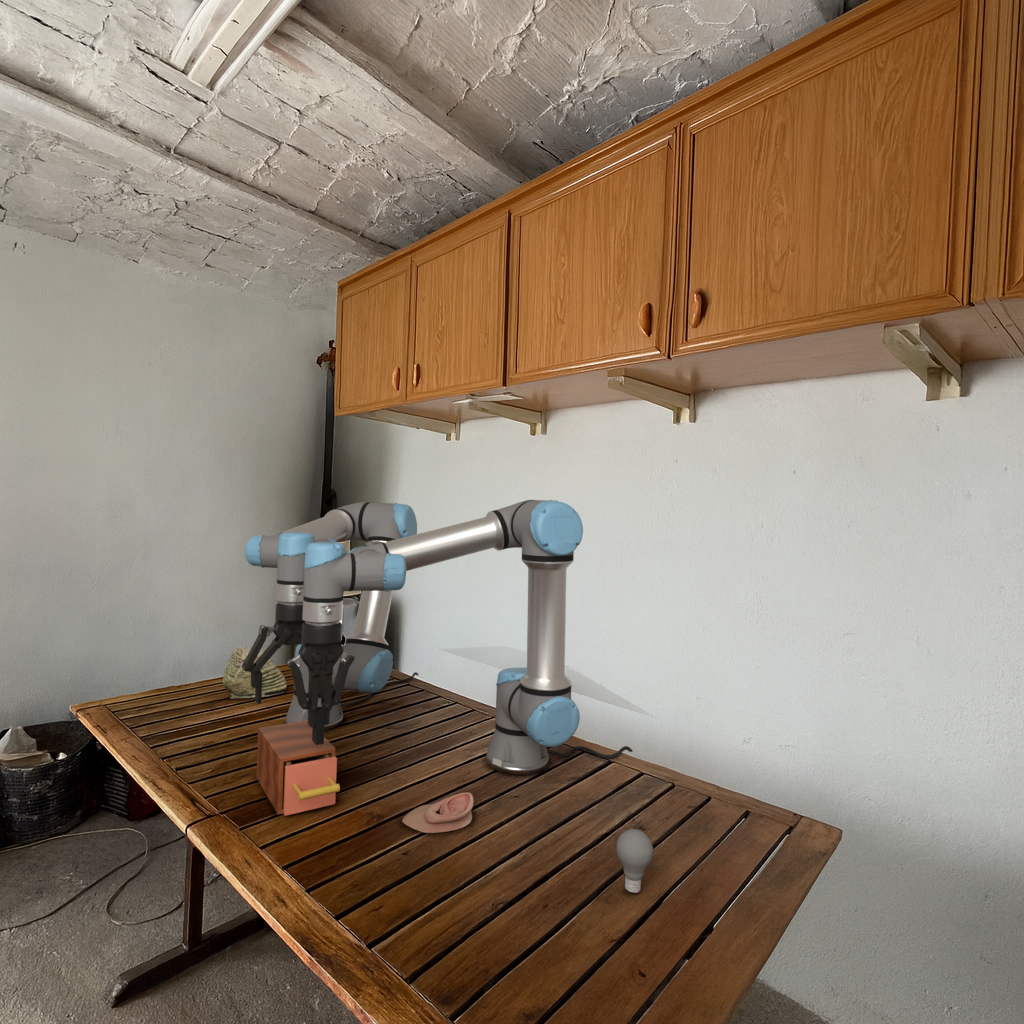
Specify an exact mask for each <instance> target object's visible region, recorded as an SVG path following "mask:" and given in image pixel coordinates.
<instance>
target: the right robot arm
mask: <svg viewBox="0 0 1024 1024" xmlns="http://www.w3.org/2000/svg"><path fill="white" fill-rule="evenodd" d="M583 535H584V526H583V521H582V519H581V516H580V514H579V513H578V512H577V511H576V509H575V508H574V507H572V506H571V505H570V504H568V503H566V502H563V501H559V500H554V499H548V500H547V499H545V500H543V499H538V500H537V499H527V500H523V501H519V502H516V503H514V504H510V505H507V506H505V507H501V508H498V509H493V510H490V511H488V512H487V513H486V515H485V516H484V517H480V518H477V519H472V520H469V521H465V522H460V523H456V524H452V525H449V526H444V527H439V528H436V529H432V530H427V531H423V532H420V533H417V534H416V535H412V536H408V537H404V538H400V539H396V540H392V541H388V542H384V543H381V544H376V545H372V546H367V545H365V546H364V545H360V546H356V547H354V548H352V549H351V550H349V552H347V550H346V545H345V544H343V542H338V543H330V542H315V543H311V544H309V545H308V546H307V547H306V553H305V564H304V592H303V615H302V620H303V621H305V623H303V625H302V644H301V648H300V650H299V652H298V655H297V656H296V657H295V656H294V657H292V658H288V659H287V660H286V662H285V664H286V665H287V667H288V668H289V670H290V671H291V675H292V681H293V686H294V685H295V690H296V694H297V699H298V704H299V705H300V707H301V708H302V709H304V710H305V709H307V710H308V725H309V726H310V727H313V728H312V741H313V742H314V743H315V744H316V745H320V744H324V737H325V731H324V726H325V725H328V724H329V718H330V710H331V709H332V706H334V705H338V704H339V703H340V704H341V700H342V695H343V692H344V690H343V688H344V685H345V681H346V677H347V674H348V670H349V667H350V665H351V664H352V662H353V661H354V656H352V655H351V654H349V653H346V652H344V649H343V646H344V645H343V644H342V641H343V623H342V622H341V621H342V620H343V614H344V613H343V612H344V592H362V591H386V592H388V591H391V590H393V591H400V590H402V589H403V588H404V587H405V584H406V579H407V572H409V571H413V570H416V569H420V568H424V567H428V566H432V565H435V564H439V563H443V562H447V561H449V560H454V559H456V558H461V557H465V556H468V555H472V554H476V553H480V552H483V551H487V550H490V549H494V550H496V551H498V552H500V551H503V550H507V549H515V548H516V549H520V548H521V562H522V563H523V564H524V565H525V566H526V568H527V573H528V574H527V623H526V624H527V625H526V626H527V628H526V629H527V630H526V631H527V635H526V636H527V637H526V667H508V668H504V669H501V670H500V671H499V672H498V674H497V679H496V684H495V685H496V694H495V695H496V696H495V723H494V725H495V726H494V732H493V735H492V738H491V740H490V743H489V744H488V745H489V746H488V748H487V751H486V761H485V762H486V764H487V766H489V768H490V769H492V770H494V771H496V772H499V773H502V774H506V775H511V776H512V775H513V776H529V775H535V774H539V773H541V772H544V770H546V769H547V768H548V766H549V759H550V757H549V756H550V755H552V756H553V755H554V756H558V757H561V758H568V757H570V756H571V755H572V754H573V753H574V752H575V751H585V752H587V753H590V754H592V755H593V756H596V757H598V758H602V759H615V758H616V757H619V756H620V755H621V754H622V753H623V752H624V751H628V752H629V753H633V749H632V748H631V747H629V746H627V745H624V746H622V747H621V748H619V750H617V752H614V753H612V754H603V753H600V752H598V751H596V750H593V749H591V748H590V747H587V746H580V745H576V746H575V745H574V746H572V747H571V748H570V749H569V750H568V752H566V753H562V752H559V751H556V750H550V749H548V748H556V747H560V746H562V745H564V744H565V743H567V742H568V741H569V740H570V738H571V737H572V736H574V735H575V733H576V731H577V730H578V727H579V724H580V710H579V708H578V705H577V704H576V702H575V701H574V700H573V699H572V680H571V679H570V678H569V677H568V676H567V675H566V671H565V670H566V622H567V621H566V620H567V619H566V617H567V616H566V615H567V570H568V568H569V567H570V566H571V564H573V563H574V560H575V559H574V556H575V555H574V554H575V551H576V550H577V547H578V546H579V545H580V544H581V543H582V540H583ZM339 658H340V664H339V667H338V671H337V674H336V678H335V682H334V686H333V689H332V693H331V688H332V674H333V666H334V665H335V664H336V662H337V661H338V659H339ZM301 660H303V662H304V663H305V664H306V666H307V667H308V672H309V685H308V701H307V697H306V692H305V688H304V683H303V678H302V674H301V671H300V669H299V668H300V667H301ZM320 670H321V671H322V688H321V705H322V707H318V686H319V676H320Z"/></svg>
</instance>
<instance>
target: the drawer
mask: <svg viewBox="0 0 1024 1024" xmlns="http://www.w3.org/2000/svg"><path fill="white" fill-rule="evenodd" d="M337 769H338V757H336V756H335V757H330V756H329V754H323V755H318V756H312V757H307V758H302V759H297V760H291V761H286V762H284V771H283V797H282V803H283V805H284V810H283V815H284V817H286V816H290V815H294V814H299V813H302V812H307V811H312V810H316V809H320V808H324V807H328V806H333V805H336V799H337V798H336V796H337V795H336V794H337V793H339V792H340V791H341V786H340V783H337V774H338V773H337V772H338V771H337Z"/></svg>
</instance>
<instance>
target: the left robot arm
mask: <svg viewBox="0 0 1024 1024" xmlns="http://www.w3.org/2000/svg"><path fill="white" fill-rule="evenodd" d="M416 534H418V520H417V516H416V513H415V511H414V509H413V508H412V507H411V506H410V505H408V504H404V503H398V502H394V503H393V502H392V503H391V502H369V501H360V502H354V503H350V504H347V505H343V506H340V507H337V508H334V509H331V510H329V511H328V512H327V513H325V515H324V516H323V517H320V518H317V519H314V520H312V521H309V522H306V523H303V524H301V525H297V526H295V527H293V528H289V529H287V530H284V531H282V532H278V533H275V534H272V535H265V534H262V535H253V536H252V537H250V538H249V539H248V540H247V541H246V544H245V548H244V552H245V553H244V554H245V555H244V557H245V560H246V561H247V563H248V564H249V565H251V566H253V567H260V568H261V569H264V568H265V569H266V568H268V569H269V568H271V569H276V570H277V572H276V574H277V575H276V576H277V577H276V590H275V591H276V592H275V601H276V602H277V603H276V604H275V614H274V615H275V617H274V625H273V626H266V625H264V624H261V625H259V629H258V635H257V637H256V638H255V640H254V642H253V644H252V646H251V647H250V649H251V650H250V652H249V653H248V655H247V657H246V659H245V661H244V663H243V664H242V668H243V669H244V670H245V671H249V672H251V686H252V688H255V697H254V701H255V703H256V704H257V705H260V704H262V698H263V697H262V672H261V671H260V670H261V668H262V667H263V666H264V665H265V664H266V663H267V661H268V660H269V659H270V658H271V659H272V657H273V656H274V654H275V653H276V652H277V651H278V650H279V649H280V648H282V646H283V645H284V646H293V645H296V647H295V652H294V657H296V656H297V655H298V652H299V650H300V648H301V644H302V625H303V623H305V621H303V620H302V615H303V592H304V564H305V553H306V547H307V546H308V545H309V544H311V543H315V542H330V543H343V542H346V541H362V542H366V543H365V544H366V545H365V546H367V547H368V546H372V545H376V544H381V543H384V542H388V541H392V540H396V539H400V538H404V537H408V536H412V535H416ZM393 594H394V590H391V591H388V592H386V591H361V593H360V598H359V604H358V609H357V612H356V618H355V623H354V627H353V632H352V633H351V634H350V635H348V636H347V637H346V638H345V644H344V645H342V646H343V649H344V652H346V653H349V654H351V655H352V656H354V661H353V662H352V664H351V665H350V667H349V670H348V674H347V677H346V681H345V685H344V688H343V691H351V692H359V693H362V694H363V693H369V694H368V695H367V696H365V697H363V698H360V699H358V700H355V701H353V702H350V703H346V704H345V703H344V704H343V703H342V704H341V702H340V703H339V704H338V705H334V706H332V709H331V710H330V718H329V724H328V725H325V726H324V732H325V731H329V730H332V729H335V728H337V727H339V726H340V725H342V723H343V722H344V714H343V709H342V708H346V707H350V706H353V705H356V704H359V703H362V702H364V701H366V700H368V699H369V698H371V697H372V695H373V694H374V693H378V692H380V691H381V690H382V689H383V688H384V687H387V686H390V685H393V684H397V683H403V682H408V681H410V680H412V679H413V678H414V677H415V676H419V673H418V672H414V673H413V674H411V676H410V677H408V678H407V677H406V678H403V679H397V680H393V681H390V682H388V681H389V679H390V677H391V675H392V670H393V668H394V667H393V666H394V661H393V659H394V656H393V653H392V651H390V650H389V643H388V642H387V640H386V639H385V635H386V632H387V631H386V630H387V626H388V620H389V614H390V609H391V604H392V599H393ZM271 633H273V634H274V635H275V637H274V638H273V639H272V640H271V643H270V644H269V645H268V647H267V648H266V649H264V652H263V653H262V655H261V656H260V657H259V658H258V659H257V660H256V662H255V663H254V661H255V659H256V657H257V655H258V654H259V652H260V650H261V649H263V646H264V644H265V642H266V641H267V637H269V636H271ZM253 663H254V664H253ZM339 664H340V658H339V659H338V661H337V662H336V664H335V665H334V666H333V674H332V688H331V693H332V689H333V686H334V682H335V678H336V674H337V671H338V667H339ZM299 669H300V671H301V674H302V678H303V683H304V688H305V692H306V697H307V701H308V685H309V672H308V667H307V666H306V664H305V663H304V662H303V660H301V667H300V668H299ZM321 688H322V671H321V670H320V676H319V686H318V707H322V705H321ZM292 696H293V697H292V699H291V702H290V704H289V708H288V711H287V713H286V715H285V724H287V723H294V722H300V721H306V720H308V710H307V709H305V710H304V709H302V708H301V707H300V705H299V704H298V699H297V694H296V690H295V685H294V684H293V695H292Z"/></svg>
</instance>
